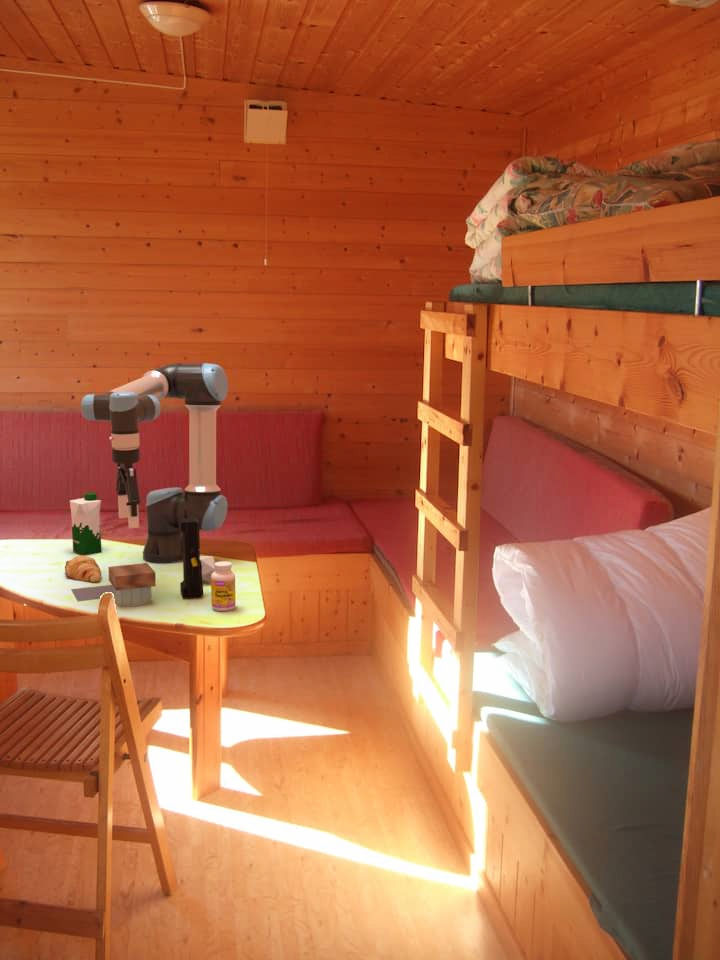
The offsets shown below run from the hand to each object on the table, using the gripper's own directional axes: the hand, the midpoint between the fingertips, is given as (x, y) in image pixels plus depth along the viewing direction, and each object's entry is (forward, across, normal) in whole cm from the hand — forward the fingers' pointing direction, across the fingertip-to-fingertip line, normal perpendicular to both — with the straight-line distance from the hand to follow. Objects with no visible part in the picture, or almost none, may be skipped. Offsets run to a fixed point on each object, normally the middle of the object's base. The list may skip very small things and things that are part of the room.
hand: (128, 522), depth 276 cm
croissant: (+23, -31, -9) cm, 40 cm away
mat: (+23, -11, -8) cm, 26 cm away
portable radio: (+23, +3, +17) cm, 29 cm away
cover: (+17, +1, 0) cm, 17 cm away
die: (+23, -10, +24) cm, 35 cm away
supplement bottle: (+23, +18, +22) cm, 36 cm away
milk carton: (+23, -62, -2) cm, 66 cm away
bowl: (+23, +2, 0) cm, 23 cm away
